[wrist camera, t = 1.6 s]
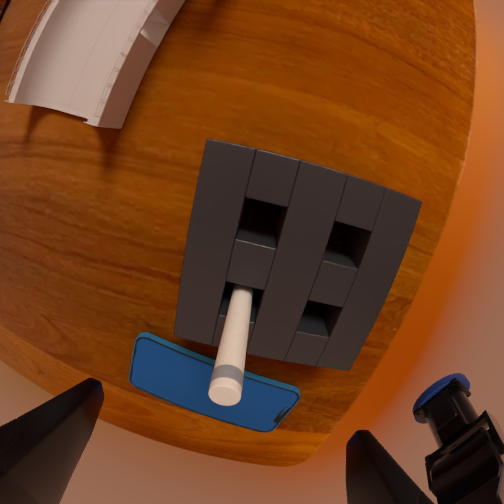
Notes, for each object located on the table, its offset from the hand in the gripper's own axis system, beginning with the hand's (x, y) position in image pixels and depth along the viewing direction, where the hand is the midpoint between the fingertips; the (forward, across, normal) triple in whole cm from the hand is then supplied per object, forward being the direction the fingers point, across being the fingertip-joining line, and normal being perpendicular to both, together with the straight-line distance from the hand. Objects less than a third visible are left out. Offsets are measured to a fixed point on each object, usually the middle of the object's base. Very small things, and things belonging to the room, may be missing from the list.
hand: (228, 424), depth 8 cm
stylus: (+12, 0, 0) cm, 12 cm away
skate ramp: (+13, +13, -16) cm, 24 cm away
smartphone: (+12, +1, +12) cm, 17 cm away
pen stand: (+12, -2, -2) cm, 13 cm away
